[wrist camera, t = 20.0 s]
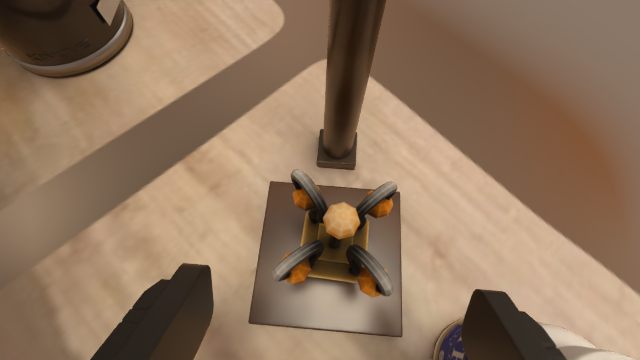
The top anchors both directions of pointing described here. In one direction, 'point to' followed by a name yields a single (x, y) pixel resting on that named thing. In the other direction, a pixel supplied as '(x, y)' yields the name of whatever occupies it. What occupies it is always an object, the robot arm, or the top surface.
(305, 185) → the decorative sculpture
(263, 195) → the top surface
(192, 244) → the top surface
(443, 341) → the pill bottle
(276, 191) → the display stand
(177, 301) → the robot arm
